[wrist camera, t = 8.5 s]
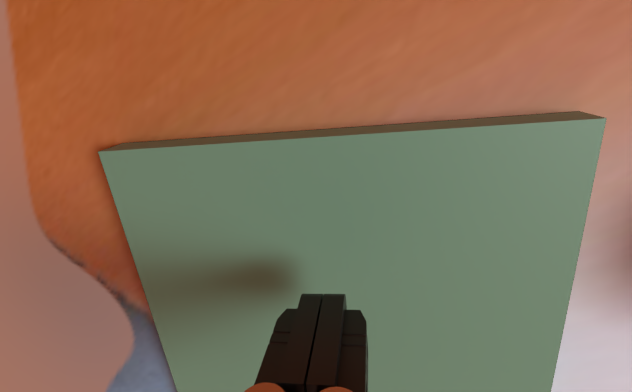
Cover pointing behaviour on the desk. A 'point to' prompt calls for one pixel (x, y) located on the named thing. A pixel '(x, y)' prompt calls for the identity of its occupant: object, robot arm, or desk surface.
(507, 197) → the putting board
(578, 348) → the desk surface
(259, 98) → the desk surface
